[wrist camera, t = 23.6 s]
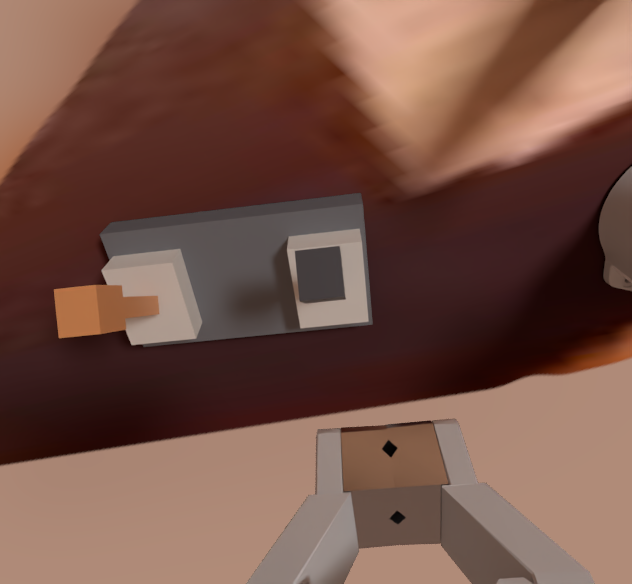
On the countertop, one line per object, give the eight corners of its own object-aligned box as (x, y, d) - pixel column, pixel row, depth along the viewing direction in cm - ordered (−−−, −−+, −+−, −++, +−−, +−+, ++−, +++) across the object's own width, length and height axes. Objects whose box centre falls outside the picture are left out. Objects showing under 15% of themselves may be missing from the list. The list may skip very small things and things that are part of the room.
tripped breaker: (160, 286, 47) (95, 284, 35) (164, 322, 47) (100, 333, 35) (129, 289, 47) (54, 289, 35) (132, 326, 47) (58, 338, 35)
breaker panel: (360, 192, 48) (365, 215, 43) (370, 309, 55) (375, 340, 50) (110, 222, 50) (86, 247, 45) (151, 331, 57) (134, 363, 52)
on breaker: (343, 266, 46) (339, 245, 34) (347, 303, 46) (344, 296, 34) (310, 269, 46) (294, 250, 34) (313, 307, 46) (299, 301, 34)
